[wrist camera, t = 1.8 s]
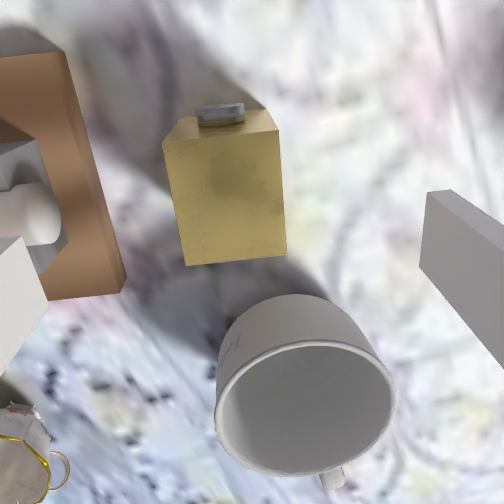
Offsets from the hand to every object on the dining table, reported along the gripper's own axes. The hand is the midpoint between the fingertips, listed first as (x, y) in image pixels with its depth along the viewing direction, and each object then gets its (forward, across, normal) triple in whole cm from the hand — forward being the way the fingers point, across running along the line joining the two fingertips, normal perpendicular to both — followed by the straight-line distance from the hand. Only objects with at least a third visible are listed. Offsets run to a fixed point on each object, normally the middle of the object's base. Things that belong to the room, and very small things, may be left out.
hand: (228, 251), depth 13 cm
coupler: (+13, 0, 0) cm, 13 cm away
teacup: (+13, -3, +15) cm, 20 cm away
